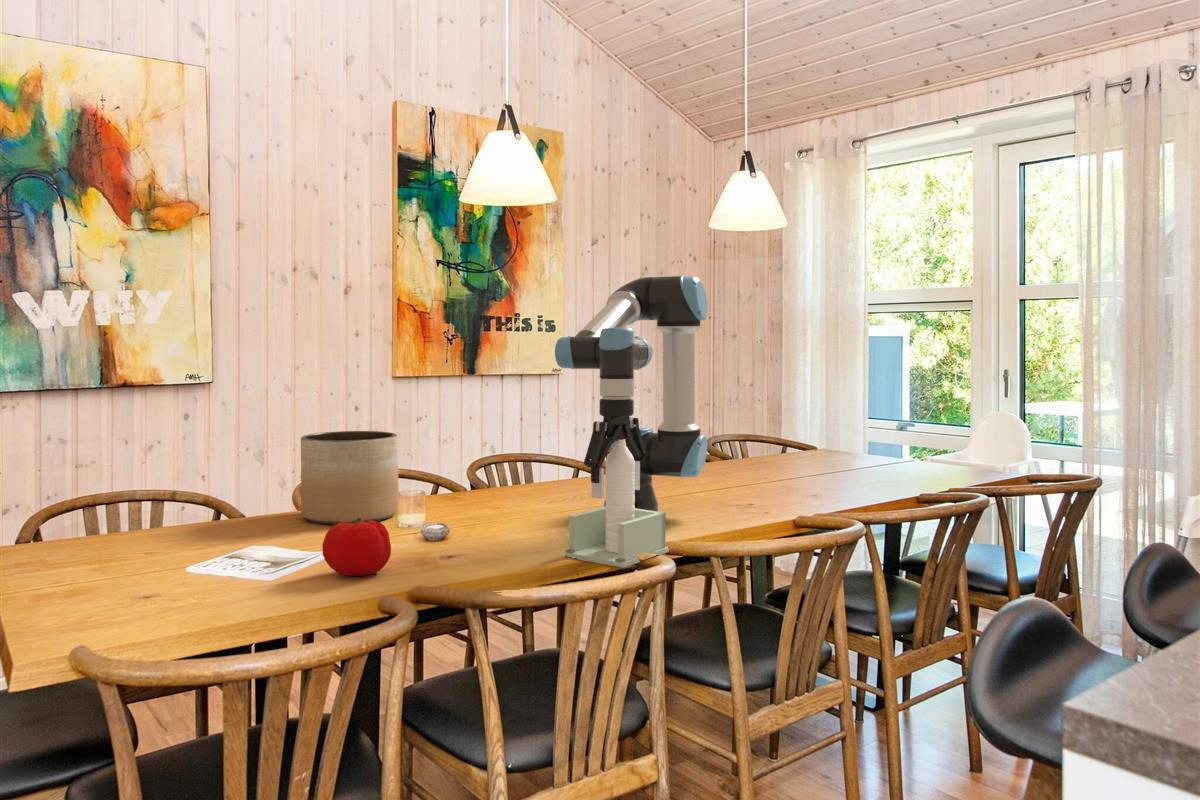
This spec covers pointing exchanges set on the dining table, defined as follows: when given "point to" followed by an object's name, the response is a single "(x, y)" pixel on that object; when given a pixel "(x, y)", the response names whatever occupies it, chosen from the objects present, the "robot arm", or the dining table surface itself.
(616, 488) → the water bottle
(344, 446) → the planter
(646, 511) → the u rest
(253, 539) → the dining table surface
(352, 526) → the tomato
